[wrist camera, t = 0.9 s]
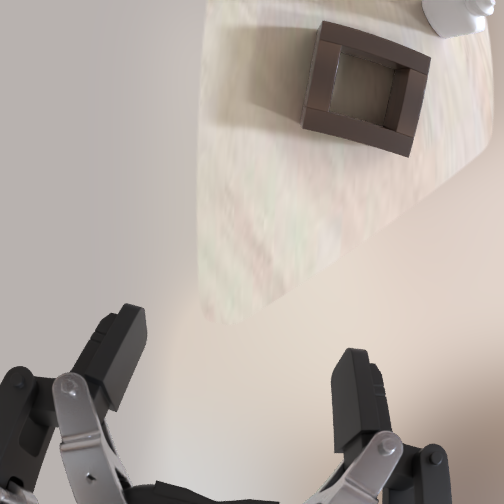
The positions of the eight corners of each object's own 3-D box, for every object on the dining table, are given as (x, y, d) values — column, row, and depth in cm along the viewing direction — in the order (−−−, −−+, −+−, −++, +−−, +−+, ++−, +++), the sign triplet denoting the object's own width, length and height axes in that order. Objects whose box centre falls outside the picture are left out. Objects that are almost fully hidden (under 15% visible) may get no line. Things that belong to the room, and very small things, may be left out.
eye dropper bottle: (449, 4, 19) (504, -14, 9) (453, 42, 22) (512, 35, 12) (419, -6, 20) (469, -32, 9) (423, 33, 22) (477, 18, 12)
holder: (317, 29, 25) (322, 20, 21) (414, 60, 25) (431, 57, 21) (299, 123, 31) (302, 128, 27) (394, 149, 31) (408, 157, 27)
